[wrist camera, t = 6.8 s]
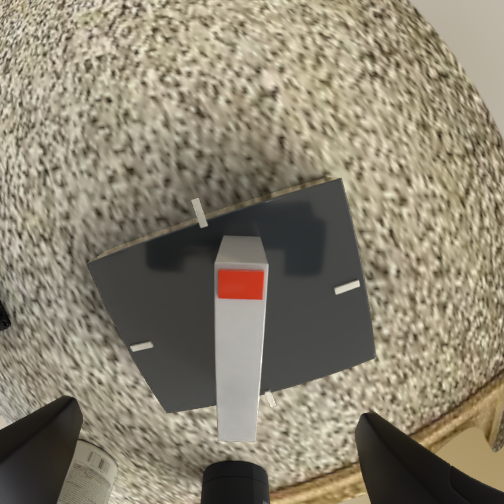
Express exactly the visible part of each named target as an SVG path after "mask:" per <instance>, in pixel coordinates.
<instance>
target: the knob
mask: <svg viewBox="0 0 504 504" xmlns="http://www.w3.org/2000/svg"><path fill="white" fill-rule="evenodd" d="M268 268H269V265H268V261H267V258H266V254H265V250H264V247H263V243H262V240H261V237H252V236H223V238H222V241H221V244H220V247H219V251H218V254H217V257H216V260H215V263H214V326H215V376H216V406H217V429H218V441H233V442H255V441H256V431H257V420H258V408H259V395H260V383H261V370H262V357H263V343H264V329H265V315H266V300H267V284H268Z"/></svg>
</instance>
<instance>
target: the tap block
mask: <svg viewBox="0 0 504 504" xmlns="http://www.w3.org/2000/svg"><path fill="white" fill-rule="evenodd" d="M191 202H192V204H193V207H194V210H195V213H196V216H197V217H196V218H193V219H190V220H188V221H185V222H182V223H179V224H176V225H173V226H171V227H168V228H165V229H162V230H160V231H157V232H154V233H151V234H149V235H146V236H143V237H141V238H138V239H135V240H133V241H130V242H127V243H125V244H122V245H119V246H117V247H114V248H112V249H109V250H107V251H106V252H104V253H102V254H101V255H99V256H97V257H96V258H94V259H93V260H91V261H89V262H88V263H87V266H88V268H89V271H90V273H91V275H92V278H93V280H94V282H95V285H96V287H97V289H98V291H99V294H100V296H101V298H102V300H103V302H104V304H105V306H106V309H107V311H108V313H109V315H110V317H111V319H112V321H113V323H114V325H115V327H116V329H117V331H118V333H119V334H120V336H121V338H122V340H123V342H124V344H125V346H126V347H127V349H128V351H129V353H130V355H131V356H132V358H133V360H134V362H135V363H136V365H137V367H138V369H139V370H140V372H141V374H142V375H143V377H144V379H145V380H146V382H147V383H148V385H149V387H150V388H151V390H152V391H153V393H154V395H155V396H156V398H157V399H158V401H159V402H160V404H161V405H162V407H163V408H164V410H165V411H166V413H173V412H180V411H186V410H192V409H198V408H204V407H209V406H215V405H216V376H215V326H214V263H215V260H216V257H217V254H218V251H219V247H220V244H221V241H222V238H223V236H252V237H261V240H262V243H263V247H264V250H265V254H266V258H267V261H268V265H269V268H268V284H267V300H266V315H265V329H264V343H263V357H262V370H261V383H260V395H264V394H265V395H266V398H267V400H268V402H269V405H270V407H275V406H276V404H275V401H274V399H273V396H272V394H271V392H275V391H279V390H282V389H286V388H290V387H293V386H296V385H300V384H303V383H306V382H310V381H313V380H316V379H319V378H322V377H325V376H328V375H331V374H334V373H337V372H340V371H343V370H345V369H348V368H351V367H354V366H356V365H359V364H362V363H364V362H367V361H369V360H372V359H374V358H376V352H375V344H374V336H373V328H372V321H371V314H370V308H369V301H368V295H367V290H366V284H365V278H364V273H363V268H362V263H361V258H360V253H359V248H358V243H357V239H356V234H355V230H354V225H353V221H352V217H351V213H350V209H349V205H348V201H347V197H346V193H345V189H344V185H343V182H342V179H341V178H330V177H324V178H320V179H317V180H313V181H310V182H306V183H303V184H300V185H296V186H293V187H289V188H286V189H283V190H279V191H276V192H273V193H270V194H266V195H263V196H260V197H257V198H254V199H251V200H247V201H244V202H241V203H238V204H235V205H232V206H229V207H226V208H223V209H220V210H217V211H214V212H211V213H208V214H205V215H204V212H203V209H202V206H201V203H200V200H199V198H196V199H193V200H191ZM260 395H259V396H260Z"/></svg>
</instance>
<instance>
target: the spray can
mask: <svg viewBox="0 0 504 504" xmlns="http://www.w3.org/2000/svg"><path fill="white" fill-rule="evenodd" d="M117 470H118V467H117V464H116V463H115V462H114V461H113V459H112V458H111V457H110V456H109V455H108V454H107V453H105V452H104V451H103V450H102V449H100V448H98V447H96V446H94V445H92V444H90V443H87V442H84V441H82V440H78V441H77V445H76V449H75V453H74V456H73V459H72V462H71V465H70V467H69V470H68V473H67V476H66V478H65V481H64V484H63V487H62V490H61V493H60V496H59V499H58V502H57V504H107V503H108V500H109V497H110V494H111V491H112V488H113V485H114V482H115V479H116V476H117Z"/></svg>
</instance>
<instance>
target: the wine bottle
mask: <svg viewBox="0 0 504 504" xmlns="http://www.w3.org/2000/svg"><path fill="white" fill-rule="evenodd" d="M201 504H270V498H269V486H268V475H267V473H266V471H265V470H264V469H262V468H261V467H260V466H257V465H255V464H252V463H247V462H240V461H228V462H220V463H217V464H213V465H211V466H210V467H208V468H206V470H205V471H204V474H203V483H202V493H201Z"/></svg>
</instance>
